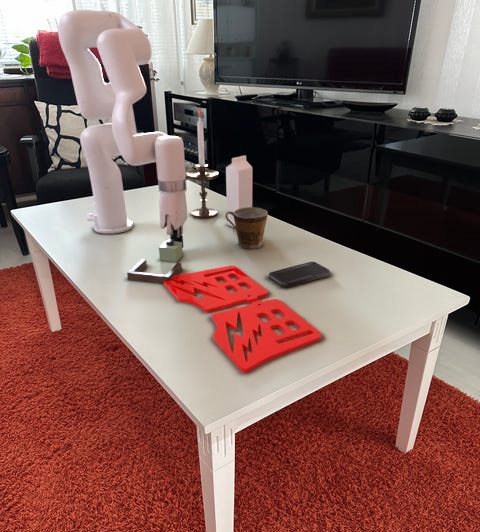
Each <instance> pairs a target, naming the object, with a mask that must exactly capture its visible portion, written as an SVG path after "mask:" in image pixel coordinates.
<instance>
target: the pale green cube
mask: <svg viewBox="0 0 480 532" xmlns="http://www.w3.org/2000/svg"><path fill="white" fill-rule="evenodd" d="M158 252H159V255H158V256H159V261H161V262H162V261H164V262H172V263H177V262H178V261H179V260H180V259H181V258H182V257H183V256H184V254H183V253H184V252H183V248H182V242H174V240H173V239H170V238H168V239H166V240H164V242H163V243H161V244H160V245H159V246H158Z"/></svg>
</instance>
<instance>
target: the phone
mask: <svg viewBox="0 0 480 532" xmlns="http://www.w3.org/2000/svg"><path fill="white" fill-rule="evenodd" d="M330 275H331V270H330V269H329V268H327V267H325V266H323V265H322V264H320V263H317V262H316V261H307V262H304V263H300V264H296V265H292V266H289V267H284V268H281V269H278V270H274V271H270V272H269V273H268V279H269V280H271V282H273V283H275V284H276V285H278V286H280V287H281V288H284V289H286V288H287V289H288V288H291V287H295V286H298V285H303V284H305V283H308V282H312V281H316V280H319V279H323V278H326V277H329V276H330Z"/></svg>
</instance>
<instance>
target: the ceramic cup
mask: <svg viewBox="0 0 480 532" xmlns="http://www.w3.org/2000/svg"><path fill="white" fill-rule="evenodd" d="M228 214H231V215H233V216H234V221H235V225H234V224H233V223H232V222H231V221H230V220H229V219H228V217H227V215H228ZM268 215H269V214H268V210H266V209H265V208H264V209H263V208H262V207H261V208H260V207H256V206H255V207H253V206H252V207H246V208H240V209H237V210H235V211H234V212H231V211H230V212H227V211H226V214H225V219H226V221H227V220H228V221H229V222H230V223H231V224H232V225H233V227H232V228H234V229H235V230H236V237H237V241H238V245H239V246H240V247H241V248H242V249H248V250H253V249H258V248H260V247H261V246H262V244H263V239H264V235H265V229H266V224H267V221H268V220H267V219H268Z"/></svg>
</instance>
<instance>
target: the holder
mask: <svg viewBox="0 0 480 532" xmlns="http://www.w3.org/2000/svg"><path fill="white" fill-rule="evenodd" d="M147 263H148V262H147V259H146V258H141V259H140V260H139V261H138V262H137V263H136V264H135V265H133V267H132V268H130V269H129V271H127V273H126V274H127V276H126V277H127V280H128V281H136V282H146V283H153V284H161V285H164V284H163V281H170V280H171V278H172V277H173V276H174V275H180V272H181V271H182V270H183V265H182V262H178V261H177V262H175V264H174V266H173V267H171V268H170V270H169V271H168V272H167V273H166V274H163V273H162V274H160V273H152V272H143V270H145V269H146V267H147V266H148V264H147Z"/></svg>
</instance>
